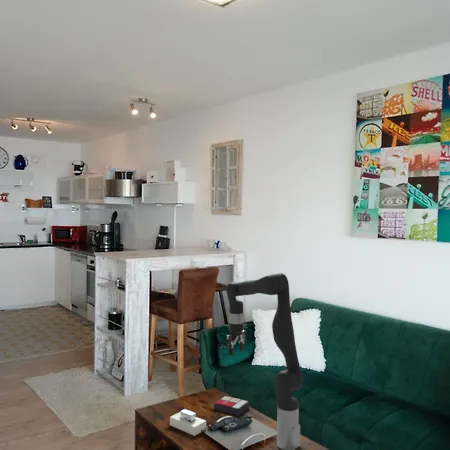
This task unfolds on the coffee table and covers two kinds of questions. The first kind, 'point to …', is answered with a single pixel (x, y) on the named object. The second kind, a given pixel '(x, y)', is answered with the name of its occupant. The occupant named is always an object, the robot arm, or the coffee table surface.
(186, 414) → the clip
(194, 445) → the coffee table surface
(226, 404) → the dark red white box
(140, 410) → the coffee table surface
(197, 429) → the cream white box
